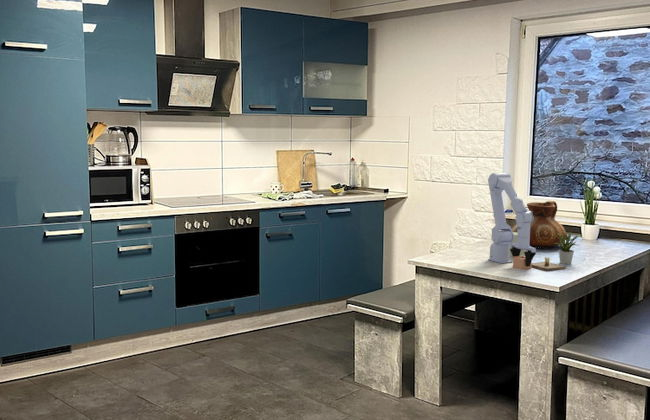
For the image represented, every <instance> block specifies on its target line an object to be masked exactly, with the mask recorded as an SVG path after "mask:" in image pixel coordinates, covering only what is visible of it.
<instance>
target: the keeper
mask: <svg viewBox="0 0 650 420" xmlns="http://www.w3.org/2000/svg"><path fill="white" fill-rule="evenodd" d="M531 268H534V269H537V270H541V271H546V272H550V271H559V270H566V268H567V266H565V265H563V264H562V265H561V264H558V263H555V262H554V263H553V262H550V257H544V261H541V262H540V261H539V262H532V264H531Z"/></svg>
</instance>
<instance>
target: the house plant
mask: <svg viewBox="0 0 650 420" xmlns="http://www.w3.org/2000/svg"><path fill="white" fill-rule="evenodd" d="M556 233H557V232H556ZM566 233H567V231H566V230H565V235H566V240H565V239H564V236H563V238H562V237H561V235H560V234H558V233H557V234H558V235H559V237H560V239H559V240H560V241H561V242H560V243H556V244H558V246H559V247H560V249H558V255H559V256H558V258H559V263H560V264H562V265H572V261H573V256H574V253H575V250H572V248H573V247H574V246H576V243H577V241H575V240H577V239H578V238H579V237H580V236H582V234H577V235H575V236H574V237H573V238H571V236H572V235H571V234H572V231H571V230H570V231H569V232H568V233H569V234H566ZM557 237H558V236H557ZM559 237H558V238H559ZM563 240H564V241H563ZM577 246H578V247H579V248H580V244H577Z"/></svg>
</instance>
